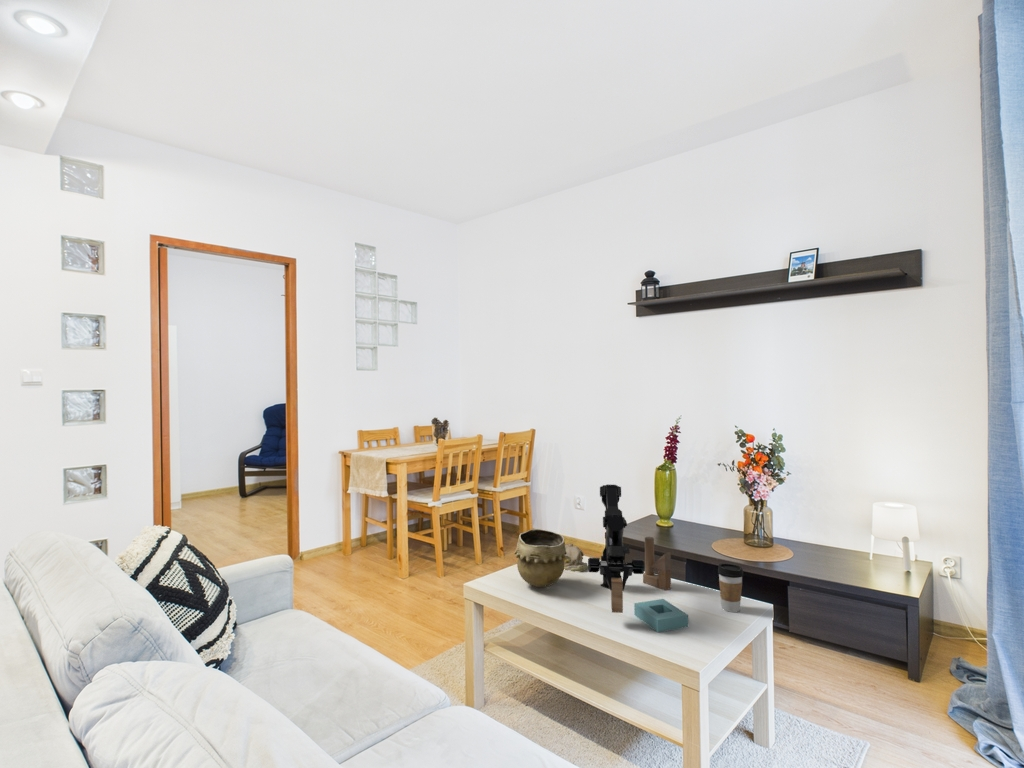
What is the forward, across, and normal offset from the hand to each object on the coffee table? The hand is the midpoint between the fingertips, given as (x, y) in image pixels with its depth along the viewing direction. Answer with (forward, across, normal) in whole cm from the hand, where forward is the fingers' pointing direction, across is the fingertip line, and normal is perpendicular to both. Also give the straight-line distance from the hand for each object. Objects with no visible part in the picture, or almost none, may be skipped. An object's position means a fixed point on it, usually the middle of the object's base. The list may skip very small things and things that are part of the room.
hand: (617, 590), depth 180 cm
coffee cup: (-4, +40, +21) cm, 46 cm away
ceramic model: (-31, -16, +48) cm, 60 cm away
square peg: (+4, 0, +6) cm, 7 cm away
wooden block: (-18, +18, +35) cm, 43 cm away
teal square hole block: (+5, +15, +12) cm, 19 cm away
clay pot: (-15, -27, +32) cm, 44 cm away
